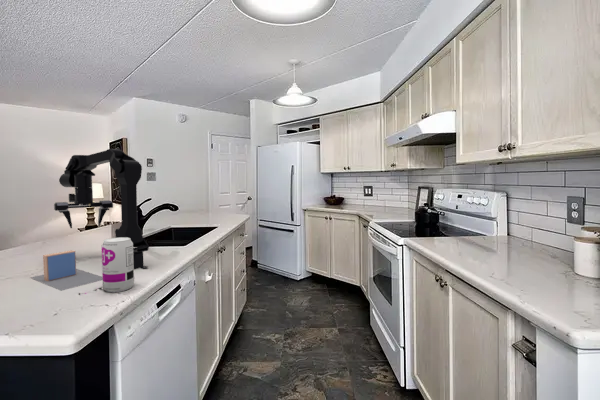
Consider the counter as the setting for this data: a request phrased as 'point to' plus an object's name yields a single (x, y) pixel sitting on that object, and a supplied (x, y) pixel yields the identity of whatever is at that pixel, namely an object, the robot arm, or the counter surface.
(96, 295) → the counter surface
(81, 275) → the mat
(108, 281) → the supplement can
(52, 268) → the tile
